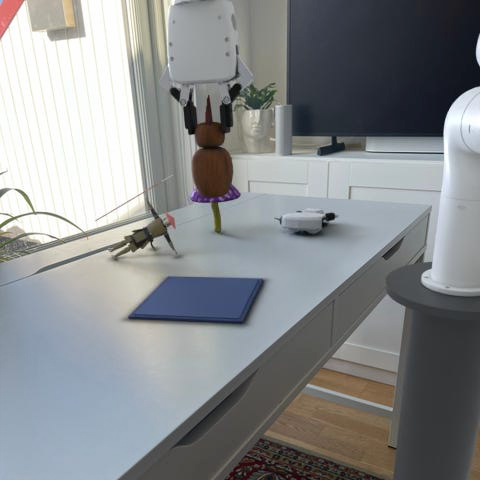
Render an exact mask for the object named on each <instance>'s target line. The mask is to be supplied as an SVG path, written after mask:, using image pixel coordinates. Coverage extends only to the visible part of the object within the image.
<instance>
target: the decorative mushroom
mask: <svg viewBox="0 0 480 480" xmlns="http://www.w3.org/2000/svg"><path fill="white" fill-rule="evenodd" d="M241 195H242V193H241V192H240V190H239V189H237V188H236V187H235V186H234V185H233V184H232V183H231V186H230V189H229V191H228V193H227V194H226V195H224V196H222V197H218V198H206V197H203V196H201V195H200V194H199V192H198V190H197V189H196V187H195V188H194V189H193V191H192V193H190V196H189V198H188V199H189V200H190V201H191V202H193V203H199V204H210V207H211V211H212V216H213V231H214V233H220V232H222V217H221V216H222V215H221V211H220V207H219V206H220V205H219V203H225V202H226V203H227V202H231V201H235V200H238V199H239V198H240V197H241Z"/></svg>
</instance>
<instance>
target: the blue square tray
mask: <svg viewBox="0 0 480 480" xmlns="http://www.w3.org/2000/svg"><path fill="white" fill-rule="evenodd" d="M263 282H264V278H260V277H259V278H257V277H256V278H255V277H253V278H251V277H213V276H175V275H174V276H171V275H170V276H169V275H168V276H167V277H166V278H165V279H164V280H163V281H162V282H160V284H159V285H158V286H157V287H156V288H155V289H154V290H153V291H152V292H151V293H150V294H149V295H148V296H147V297H146V298H145V299H143V301H142V302H141V303H140V304H139V305H138V306H137V307H136V308H135V309H134V310H133V311H132V312H131V313H130V314H129V315H128V319H130V320H152V321H153V320H154V321H176V322H198V323H200V322H201V323H220V324H244V322H245V319H246V317H247V315H248V313H249V311H250V309H251V307H252V305H253V303H254V300H255V299H256V296H257V294H258V292H259V291H260V288H261V286H262V284H263Z"/></svg>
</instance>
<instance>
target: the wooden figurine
mask: <svg viewBox="0 0 480 480" xmlns="http://www.w3.org/2000/svg"><path fill="white" fill-rule="evenodd" d="M204 116H205V117H204V118H205V120H204V121H203V122H200V123H198V125H197V126H196V128H195V134H194V141H195V144H196V146H197V147H199V148H198V149H197V150H196V151H195V152H194V154H193V155H192V159H191V176H192V181H193V184H194V186H195V188H196V189H197V190H198V192H199V194H200V195H201V196H203V197H206V198H218V197H222V196H224V195H226V194H227V193H228V191H229V189H230V186H231V184H232V183H233V179H234V178H233V177H234V164H233V159H232V156H231V154H230V152H229V151H228V150H227V149H226V148H225V147H223V146H222V145H223V144H224V143H225V140H226V133H225V134H223V133H221V122H220V121H219V122H218V121H214V119H213V113H212V104H211V97H210V94H207V98H206V105H205V112H204Z"/></svg>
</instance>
